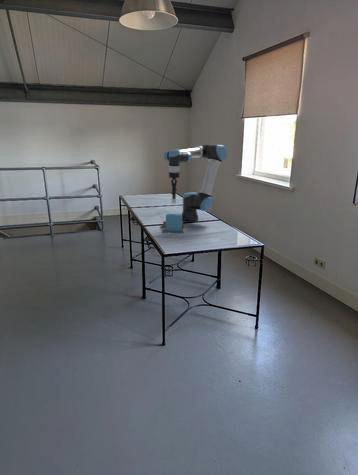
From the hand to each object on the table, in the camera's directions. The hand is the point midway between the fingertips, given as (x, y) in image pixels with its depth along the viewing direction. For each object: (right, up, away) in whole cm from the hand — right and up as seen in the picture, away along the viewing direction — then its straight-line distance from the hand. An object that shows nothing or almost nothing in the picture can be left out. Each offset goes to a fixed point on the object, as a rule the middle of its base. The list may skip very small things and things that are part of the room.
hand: (173, 201), depth 242 cm
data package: (0, -21, +6) cm, 22 cm away
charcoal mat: (-1, -22, +6) cm, 23 cm away
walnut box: (-1, -18, +18) cm, 25 cm away
